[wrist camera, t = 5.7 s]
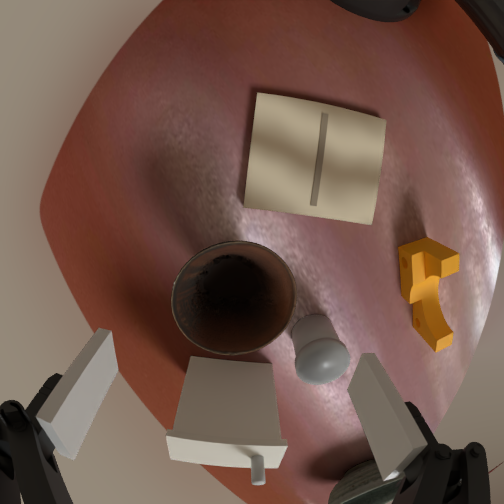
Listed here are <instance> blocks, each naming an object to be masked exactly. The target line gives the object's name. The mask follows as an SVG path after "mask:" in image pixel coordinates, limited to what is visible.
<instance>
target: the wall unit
mask: <svg viewBox="0 0 504 504" xmlns="http://www.w3.org/2000/svg"><path fill="white" fill-rule="evenodd" d="M166 439H167V444H168V449H169V454H170V459H173V460H178V461H184V462H191V463H198V464H206V465H216V466H227V467H243V468H251V479H252V484H253V485H263V484H265V469H264V468H278V467H279V464H280V462H281V460H282V458H283V456H284V453H285V451H286V449H287V446H288V445H287V439H281V432H280V424H279V415H278V407H277V399H276V391H275V383H274V375H273V367H272V364H270V363H255V362H242V361H231V360H221V359H212V358H204V357H196V356H191V357H190V361H189V365H188V369H187V373H186V377H185V381H184V385H183V389H182V393H181V397H180V401H179V405H178V409H177V413H176V417H175V422H174V426H173V430H169V429H167V433H166Z"/></svg>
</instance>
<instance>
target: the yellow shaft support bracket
mask: <svg viewBox="0 0 504 504" xmlns="http://www.w3.org/2000/svg"><path fill="white" fill-rule="evenodd" d="M398 252H399V264H400V278H401V296H402V297H403V298H404V299H405V300H406V301H407V302H408V303H409V304H412V303H413V327H414V329H415V330H416V331H417V332H418V333H419V334H420V335H421V336H422V338H423V339H424V340H425V341H426V342H427V343H428V344H429V346H430V347H431V348H432V349H433V350H434V351H435V353H436V352H438V351H440V350H442V349H444V348H446V347H448V346H450V345H451V344H452V339H453V333H454V332H453V331H452V330H451V329H450V327H449V326H448V324H447V323H446V321H445V319H444V316H443V314H442V311H441V308H440V304H439V298H438V283H439V279H440V278H444V277H446V276H448V275H450V274H453V273H455V272H457V271H459V253H457V252H456V251H454V250H452V249H450V248H448V247H446V246H444V245H442V244H440V243H438V242H436V241H434V240H432V239H430V238H428V237H426V238H423V239H420V240H417V241H414V242H411V243H408V244H405V245H402V246H399V247H398Z"/></svg>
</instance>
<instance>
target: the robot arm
mask: <svg viewBox="0 0 504 504" xmlns="http://www.w3.org/2000/svg"><path fill="white" fill-rule="evenodd" d="M330 1H332V2H333V3H335V4H337V5H338V6H340V7H342V8H344V9H346V10H348V11H350V12H352V13H354V14H357V15H359V16H362V17H365V18H368V19H372V20H376V21H381V22H398V21H402V20H405V19H406V18H408V17H409V16H411V15H412V14H413V13H414V12H415V11H416V10H417V8H418V6H419V4H420V1H421V0H330ZM455 1H456V2H457V3H458V5H459V6H460V7H461V8H462V9H463V10H464V11H465V13H466V14H467V15H468V16H469V17H470V18H471V20H472V21H473V22H474V23H475V25H476V26H477V27H478V29H479V30H480V31H481V32H482V34H483V35H484V36H485V38H486V39H487V41H488V42H489V43H490V45H491V46H492V48H493V51H494V53H495V55H496V56H497V57H498V59H499V60H500V61H502V63H503V64H504V0H455ZM117 372H118V365H117V360H116V355H115V350H114V344H113V338H112V332H111V331H110V330H105V329H101V328H98V330H97V331H96V332H95V334H94V335H93V336H92V338H91V339H90V340H89V341H88V343H87V344H86V345H85V347H84V348H83V349H82V351H81V352H80V353H79V355H78V356H77V357H76V359H75V360H74V361H73V363H72V364H71V365H70V367H69V368H68V370H67V371H66V372H65V374H64V375H60V374H58V373H56V374H54V375H52V376H51V377H49V378H48V380H47V381H46V382H45V383H44V385H43V387H41V389H40V390H39V393H37V394H36V396H35V397H34V399H33V400H32V401H31V403H30V404H29V406H28V407H27V409H26V410H24V407H23V406H22V405H21V404H20V403H19V402H18V401H15V400H9V401H5V402H4V403H3V404H1V406H0V504H21V498H20V492H21V495H22V499H23V502H24V504H73V502H72V500H71V498H70V495H69V493H68V491H67V488H66V486H65V483H64V481H63V478H62V476H61V473H60V471H59V468H58V465H57V462H56V459H55V456H54V454H53V451H54V449H55V448H56V449H57V451H58V452H59V454H60V455H63V456H65V457H67V458H70V459H72V460H75V458H76V455H77V453H78V451H79V449H80V447H81V444H82V442H83V440H84V438H85V436H86V434H87V432H88V429H89V427H90V425H91V423H92V421H93V419H94V417H95V415H96V413H97V411H98V409H99V407H100V405H101V403H102V401H103V399H104V397H105V395H106V393H107V391H108V389H109V387H110V385H111V383H112V382H113V380H114V378H115V376H116V374H117ZM347 390H348V393H349V395H350V398H351V400H352V403H353V405H354V407H355V410H356V412H357V415H358V417H359V420H360V422H361V425H362V427H363V430H364V432H365V435H366V437H367V440H368V442H369V445H370V447H371V450H372V453H373V455H374V458H375V460H376V463H377V466H378V468H379V471H380V474H381V476H382V479H383V481H385V480H389V479H392V478H396V477H398V476H399V475H400V474H401V473H402V472H403V471H404V473H405V476H404V477H403V478H402V479H401V480H400V481H399V482H398V483H397V484H396V485H395V487H397V486H399V485H400V486H399V489H398V491H397V493H396V495H395V497H394V500H393V502H392V504H491V501H490V485H489V475H488V466H487V458H486V452H485V449H484V447H483V446H482V445H481V444H480V443H477V442H471V443H469V444H468V445H467V446H466V447H465V448H464V449H459V450H452V449H451V448H450V447H449V446H447V445H445V444H439V443H438V442H437V440H436V439H435V437H434V435H433V433H432V432H431V430H430V428H429V427H428V425H427V423H426V422H425V420H424V418H423V416H421V413H420V411H419V410H418V408H417V407H416V406H415V405H414V404H412V403H411V402H404V401H403V399H402V398H401V396H400V394H399V393H398V391H397V389H396V388H395V386H394V384H393V383H392V381H391V379H390V378H389V376H388V374H387V373H386V371H385V369H384V368H383V366H382V365H381V363H380V361H379V360H378V358H377V357H376V355H375V353H362V355H361V358H360V361H359V363H358V366H357V368H356V370H355V373H354V375H353V378H352V380H351V382H350V385H349V387H348V389H347Z"/></svg>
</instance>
